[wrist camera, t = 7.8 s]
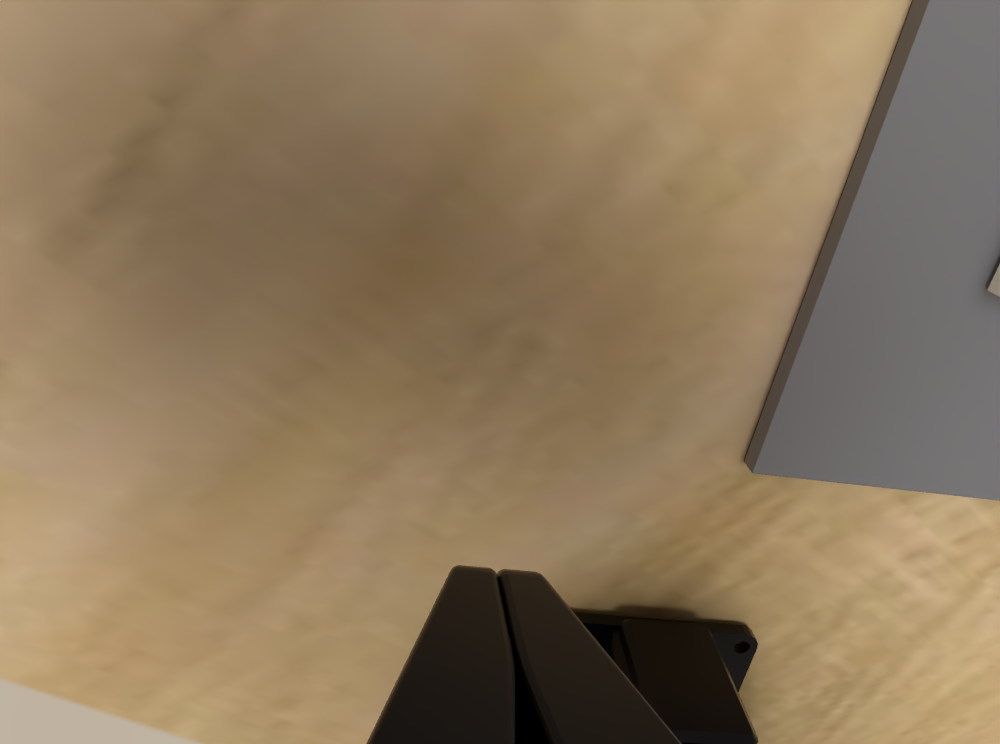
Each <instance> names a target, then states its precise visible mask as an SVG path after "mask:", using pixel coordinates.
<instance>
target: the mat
mask: <svg viewBox="0 0 1000 744" xmlns="http://www.w3.org/2000/svg"><path fill="white" fill-rule="evenodd" d="M999 264H1000V0H913V2H912V5H911V8H910V11H909V13H908V16H907V19H906V21H905V24H904V27H903V30H902V32H901V35H900V38H899V41H898V43H897V46H896V49H895V51H894V54H893V57H892V60H891V62H890V65H889V68H888V71H887V73H886V76H885V79H884V81H883V84H882V87H881V90H880V92H879V95H878V98H877V101H876V103H875V106H874V109H873V111H872V114H871V117H870V120H869V122H868V125H867V128H866V131H865V133H864V136H863V139H862V142H861V144H860V147H859V150H858V152H857V155H856V158H855V161H854V163H853V166H852V169H851V172H850V174H849V177H848V180H847V182H846V185H845V188H844V191H843V193H842V196H841V199H840V202H839V204H838V207H837V210H836V212H835V215H834V218H833V221H832V223H831V226H830V229H829V232H828V234H827V237H826V240H825V242H824V245H823V248H822V251H821V253H820V256H819V259H818V262H817V264H816V267H815V270H814V272H813V275H812V278H811V281H810V283H809V286H808V289H807V292H806V294H805V297H804V300H803V302H802V305H801V308H800V311H799V313H798V316H797V319H796V322H795V324H794V327H793V330H792V333H791V335H790V338H789V341H788V343H787V346H786V349H785V352H784V354H783V357H782V360H781V363H780V365H779V368H778V371H777V373H776V376H775V379H774V382H773V384H772V387H771V390H770V393H769V395H768V398H767V401H766V403H765V406H764V409H763V412H762V414H761V417H760V420H759V423H758V425H757V428H756V431H755V433H754V436H753V439H752V442H751V444H750V447H749V450H748V453H747V455H746V458H745V461H744V462H745V463H746V464H747V466H748V467H749V469H750V470H751V472H752V473H756V474H765V475H774V476H783V477H792V478H801V479H810V480H819V481H828V482H837V483H846V484H855V485H864V486H873V487H882V488H891V489H900V490H909V491H918V492H927V493H936V494H945V495H954V496H963V497H972V498H981V499H990V500H999V501H1000V297H999V296H997V295H995V294H993V293H991V292H990V291H988V288H989V285H990V283H991V281H992V279H993V277H994V275H995V273H996V271H997V268H998V266H999Z"/></svg>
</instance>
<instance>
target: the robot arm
mask: <svg viewBox="0 0 1000 744" xmlns="http://www.w3.org/2000/svg"><path fill="white" fill-rule="evenodd" d="M741 641H742V642H741ZM739 642H740V643H739ZM737 643H738V644H737ZM757 645H758V643H757V641H756V639H755V637H754V635H753V633H752V631H751V630H750V629H749V628H748V627H745V626H739V625H726V624H713V623H701V622H688V621H675V620H662V619H650V618H637V617H624V616H612V615H599V614H586V613H573V611H572V610H571V609H570V608H569V607H568V605H567V604H566V603H565V602H564V600H563V599H562V598H561V597H560V596H559V594H558V593H557V592H556V591H555V590H554V588H553V587H552V586H551V585H550V583H549V582H548V581H547V580H546V579H545V578H544V577H543V576H542V575H541V574H539V573H537V572H531V571H520V570H508V569H503V570H501V571H499V572H498V573H497V574H496V572H495V571H494V570H492V569H491V568H485V567H473V566H461V565H458V566H455V567H453V568H452V569H451V571H450V573H449V575H448V577H447V579H446V581H445V583H444V585H443V587H442V589H441V591H440V593H439V595H438V597H437V600H436V602H435V604H434V606H433V608H432V610H431V612H430V614H429V616H428V618H427V620H426V622H425V624H424V626H423V628H422V630H421V633H420V635H419V637H418V639H417V641H416V643H415V645H414V647H413V649H412V651H411V653H410V655H409V657H408V659H407V661H406V663H405V665H404V668H403V670H402V672H401V674H400V676H399V678H398V680H397V682H396V684H395V686H394V688H393V690H392V692H391V694H390V696H389V698H388V700H387V703H386V705H385V707H384V709H383V711H382V713H381V715H380V717H379V719H378V721H377V723H376V725H375V727H374V729H373V731H372V733H371V736H370V738H369V740H368V742H367V744H757V743H758V737H757V735H756V732H755V730H754V728H753V726H752V723H751V721H750V719H749V717H748V714H747V712H746V710H745V708H744V705H743V703H742V701H741V698H740V696H739V694H738V692H739V689H740V687H741V685H742V682H743V680H744V678H745V675H746V673H747V670H748V668H749V666H750V663H751V661H752V659H753V656H754V654H755V652H756V649H757Z"/></svg>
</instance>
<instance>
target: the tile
mask: <svg viewBox="0 0 1000 744" xmlns="http://www.w3.org/2000/svg"><path fill="white" fill-rule="evenodd" d="M988 291H990V292H991V293H993V294H995V295H997V296H999V297H1000V264H999V266H998V268H997V271H996V273H995V275H994V277H993V279H992V281H991V283H990V285H989V288H988Z"/></svg>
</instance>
